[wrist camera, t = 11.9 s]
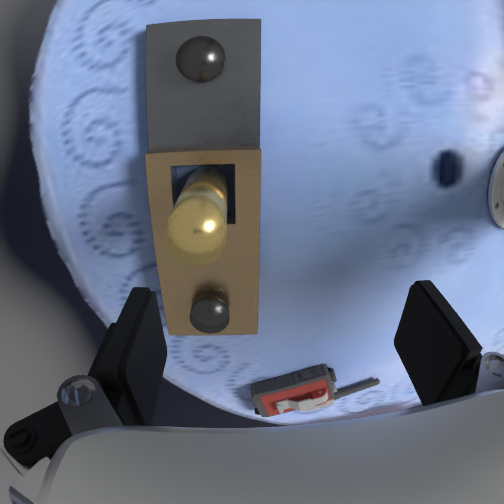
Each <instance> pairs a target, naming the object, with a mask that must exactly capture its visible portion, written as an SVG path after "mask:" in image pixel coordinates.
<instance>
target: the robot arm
mask: <svg viewBox="0 0 504 504" xmlns="http://www.w3.org/2000/svg"><path fill="white" fill-rule="evenodd" d="M488 204H489V209H490V213H491V216H492V218H493V220H494V221H495V223H496V224H497V225H498V226H500V227H501V228H503V229H504V151H503V152H502V153H501V154H500V156H499V158H498V159H497V161H496V163H495V166H494V168H493V171H492V174H491V177H490V183H489V190H488ZM394 346H395V348H396V350H397V352H398V354H399V356H400V358H401V360H402V363H403V365H404V367H405V369H406V371H407V373H408V375H409V377H410V379H411V381H412V383H413V385H414V388H415V390H416V392H417V394H418V396H419V398H420V401H421V403H422V405H423V407H418V408H414V409H409V410H404V411H399V412H394V413H389V414H383V415H378V416H372V417H366V418H359V419H352V420H345V421H337V422H329V423H320V424H310V425H298V426H285V427H267V428H179V427H160V426H152V423H153V418H154V413H155V408H156V403H157V399H158V394H159V389H160V385H161V379H162V376H163V371H164V367H165V362H166V358H167V346H166V342H165V337H164V333H163V328H162V323H161V318H160V314H159V309H158V303H157V298H156V294H155V292H151V291H150V288H148V287H134V288H133V289H132V290H131V292H130V294H129V297H128V299H127V301H126V303H125V305H124V307H123V309H122V311H121V314H120V316H119V318H118V320H117V322H116V323H112V324H111V325H110V326H109V328H108V330H107V333H106V335H105V337H104V339H103V341H102V343H101V346H100V348H99V350H98V353H97V355H96V357H95V359H94V362H93V364H92V366H91V368H90V371H89V373H88V375H76V376H73V377H70V378H68V379H67V380H65V381H64V382H63V383H62V384H61V386H60V387H59V389H58V392H57V399H58V401H57V402H55V403H53V404H51V405H50V406H48V407H46V408H44V409H42V410H40V411H38V412H36V413H34V414H32V415H30V416H28V417H26V418H24V419H22V420H20V421H18V422H16V423H14V424H13V425H11V426H10V427H9V428H8V430H7V431H6V433H5V435H4V441H3V442H4V445H3V446H2V447H1V448H0V504H34V503H35V504H504V355H502V354H500V353H497V352H488V353H485V354H484V355H483V356H482V355H481V353H480V352H481V350H482V347H481V345H480V344H479V342H478V341H477V340H476V338H475V337H474V335H473V334H472V333H471V331H470V330H469V329H468V327H467V326H466V325H465V323H464V322H463V321H462V319H461V318H460V317H459V315H458V314H457V313H456V312H455V310H454V309H453V308H452V307H451V305H450V304H449V303H448V301H447V300H446V299H445V298H444V296H443V295H442V294H441V293H440V292H439V290H438V289H437V288H436V287H435V285H434V284H433V283H432V282H431V281H430V280H422V281H416V282H415V283H414V285H411V287H410V289H409V293H408V297H407V300H406V303H405V307H404V310H403V313H402V316H401V320H400V323H399V326H398V329H397V332H396V335H395V338H394ZM35 501H36V502H35Z"/></svg>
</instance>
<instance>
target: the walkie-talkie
mask: <svg viewBox="0 0 504 504" xmlns="http://www.w3.org/2000/svg"><path fill="white" fill-rule="evenodd" d="M331 381H333V382H336V376H335V373H334V370H333V368H331V369H330V371H328V368H327V365H326V364H321V365H317V366H314V367H311V368H307V369H304V370H300V371H297V372H294V373H290V374H286V375H283V376H279V377H275V378H272V379H268V380H264V381H261V382H257V383H253V385H252V386H251V391H252V400H253V402H254V404H255V406H256V408H255V414H257V415H261V416H262V417H269V416H274V415H278V414H282V413H286V412H290V411H294V410H302V411H311V410H315V409H318V408H322V407H325V406H331V405H334V403H333V400H336V399H339V398H341V397H343V396H346V395H349V394H352V393H355V392H358V391H361V390H364V389H366V388H369V387H372V386H375V385H378V384H379V383H380V380H379V379H378V378H376V379H373V380H371V381H368V382H365V383H362V384H359V385H356V386H353V387H350V388H347V389H344V390H341V391H337V388H336V386H335V384H332V382H331Z"/></svg>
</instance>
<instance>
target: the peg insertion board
mask: <svg viewBox="0 0 504 504" xmlns="http://www.w3.org/2000/svg"><path fill="white" fill-rule="evenodd" d="M260 83H261V19H207V20H190V21H178V22H167V23H159V24H151V25H146V102H147V127H148V145H149V152H147V153H146V154H145V163H146V175H147V186H148V197H149V206H150V216H151V224H152V232H153V240H154V248H155V255H156V262H157V269H158V275H159V282H160V288H161V294H162V300H163V306H164V312H165V317H166V323H167V328H168V333H169V335H245V334H257V331H258V289H259V243H260V191H261V149H260ZM205 164H235V213H227V234H226V245H225V248H224V250H223V252H222V253H221V255H220V256H219V257H218V258H217V259H216V260H214V261H213V262H211V263H209V264H206V265H202V266H190V265H186V264H183V263H181V262H179V261H177V260H176V259H175V258H173V257H172V256H171V254H170V253H169V252H168V250H167V249H166V246H165V244H164V238H163V234H164V228H165V226H166V223H167V221H168V219H169V217H170V215H171V213H172V210H173V208H174V206H175V204H176V202H177V200H178V190H177V174H176V166H180V165H205Z"/></svg>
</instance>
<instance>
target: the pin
mask: <svg viewBox="0 0 504 504" xmlns="http://www.w3.org/2000/svg"><path fill="white" fill-rule="evenodd" d="M227 191H228V184H227V180H226V177H225V175H224V174H223V173H222V172H221V171H220V170H218V169H217V168H215V167H211V166H203V167H199V168H197V169H195V170H194V171H193V172H192V173H191V174H190V175H189V177H188V179H187V181H186V183H185V185H184V187H183V189H182V191H181V194H180V196H179V198H178V200H177V202H176V204H175V206H174V208H173V210H172V213H171V215H170V217H169V219H168V221H167V223H166V226H165V228H164V234H163V238H164V244H165V246H166V249H167V250H168V252H169V253H170V254H171V256H172V257H173V258H175V259H176V260H177V261H179V262H181V263H183V264H186V265H190V266H202V265H206V264H209V263H211V262H213V261H214V260H216V259H217V258H218V257H219V256H220V255H221V253H222V252H223V250H224V248H225V245H226V234H227Z"/></svg>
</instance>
